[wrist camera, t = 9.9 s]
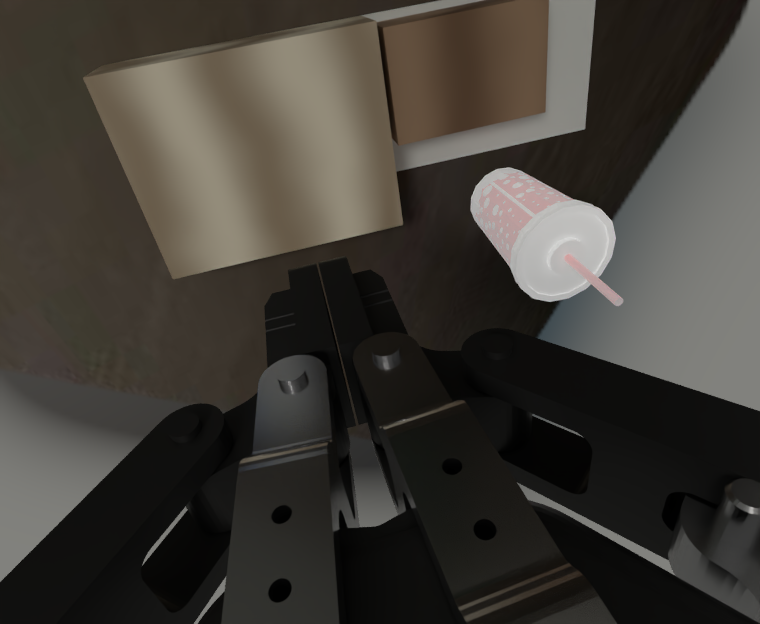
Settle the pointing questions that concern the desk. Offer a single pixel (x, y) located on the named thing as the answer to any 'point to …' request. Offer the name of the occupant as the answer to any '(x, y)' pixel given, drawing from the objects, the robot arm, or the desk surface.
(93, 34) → the desk surface
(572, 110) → the mat
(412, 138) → the walnut tile
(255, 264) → the desk surface
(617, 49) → the desk surface
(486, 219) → the beverage cup
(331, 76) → the tan flat block
